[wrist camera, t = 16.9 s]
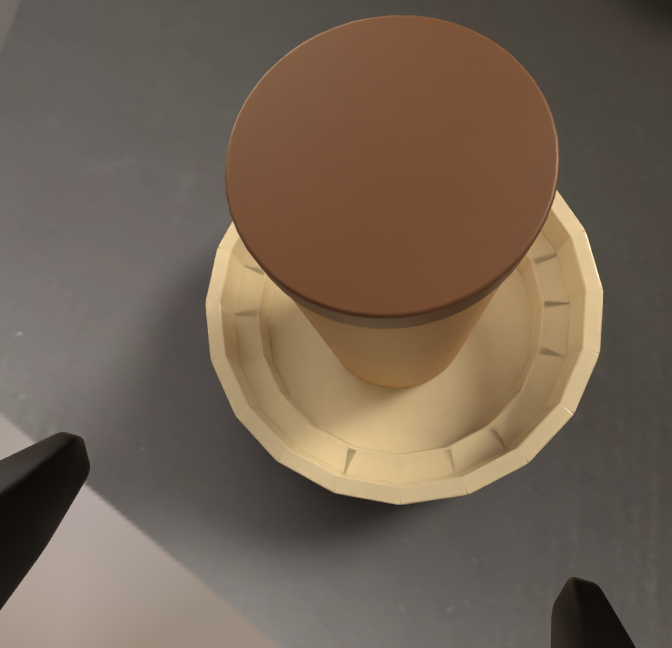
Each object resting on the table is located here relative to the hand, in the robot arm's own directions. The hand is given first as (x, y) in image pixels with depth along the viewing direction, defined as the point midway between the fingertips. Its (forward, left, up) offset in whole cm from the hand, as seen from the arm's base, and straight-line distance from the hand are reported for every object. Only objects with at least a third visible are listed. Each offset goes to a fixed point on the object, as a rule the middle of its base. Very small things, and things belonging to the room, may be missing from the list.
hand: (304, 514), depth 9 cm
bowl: (+7, -1, -13) cm, 14 cm away
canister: (+7, -1, -12) cm, 14 cm away
